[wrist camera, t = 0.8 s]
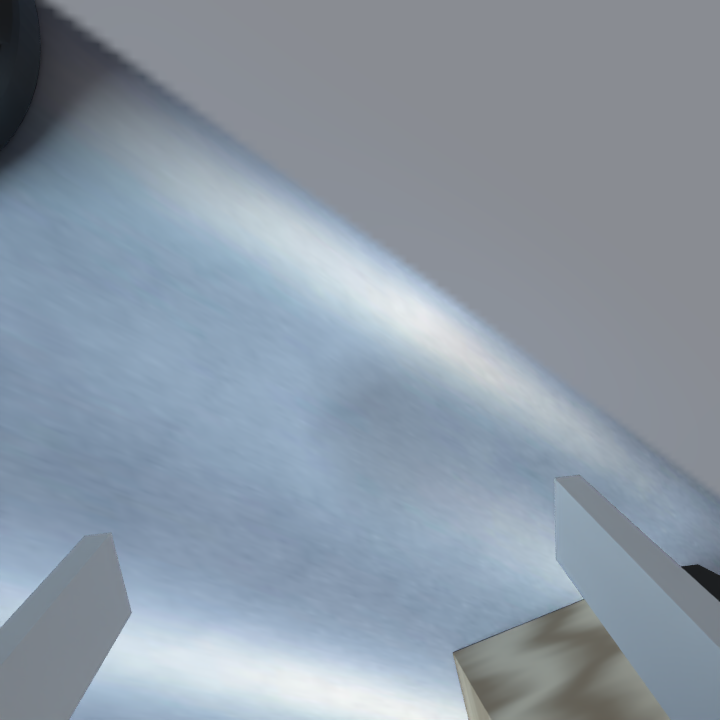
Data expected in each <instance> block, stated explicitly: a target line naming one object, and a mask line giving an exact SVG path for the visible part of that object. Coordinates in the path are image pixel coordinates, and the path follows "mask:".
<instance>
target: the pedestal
mask: <svg viewBox="0 0 720 720" xmlns="http://www.w3.org/2000/svg"><path fill="white" fill-rule="evenodd" d="M453 656H454V660H455V664H456V668H457V673H458V677H459V681H460V685H461V689H462V694H463V698H464V702H465V706H466V710H467V714H468V719H469V720H671V719H670V718H669V717H668V715H667V714H666V713H665V711H664V710H663V708H662V707H661V706H660V704H659V703H658V701H657V700H656V699H655V697H654V696H653V694H652V693H651V692H650V690H649V689H648V687H647V686H646V685H645V683H644V682H643V680H642V679H641V678H640V676H639V675H638V673H637V672H636V671H635V669H634V668H633V666H632V665H631V664H630V662H629V661H628V659H627V658H626V657H625V655H624V654H623V652H622V651H621V650H620V648H619V647H618V645H617V644H616V643H615V641H614V640H613V638H612V637H611V636H610V634H609V633H608V631H607V630H606V629H605V627H604V626H603V624H602V623H601V622H600V620H599V619H598V617H597V616H596V615H595V613H594V612H593V610H592V609H591V608H590V606H589V605H588V603H587V602H586V601H585V599H584V600H582V601H579V602H577V603H574V604H572V605H569V606H567V607H564V608H562V609H559V610H557V611H555V612H552V613H550V614H547V615H545V616H542V617H540V618H537V619H535V620H532V621H530V622H527V623H525V624H523V625H520V626H518V627H515V628H513V629H510V630H508V631H505V632H503V633H500V634H498V635H495V636H493V637H491V638H488V639H486V640H483V641H481V642H478V643H476V644H473V645H471V646H468V647H466V648H463V649H461V650H459V651H456V652H454V653H453Z"/></svg>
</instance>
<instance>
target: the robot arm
mask: <svg viewBox="0 0 720 720" xmlns="http://www.w3.org/2000/svg"><path fill="white" fill-rule="evenodd" d="M39 64H40V30H39V21H38V16H37V11H36V6H35V2H34V0H0V150H1V149H2V148H3V147H4V146H5V145H6V144H7V142H8V141H9V140H10V138H11V137H12V136H13V134H14V133H15V131H16V130H17V128H18V127H19V125H20V124H21V122H22V120H23V118H24V116H25V114H26V112H27V110H28V107H29V105H30V102H31V100H32V97H33V94H34V90H35V87H36V82H37V78H38V72H39ZM554 494H555V542H556V560H557V562H558V563H559V564H560V566H561V567H562V569H563V570H564V571H565V573H566V574H567V576H568V577H569V578H570V580H571V581H572V583H573V584H574V585H575V587H576V588H577V589H578V591H579V592H580V594H581V595H582V596H583V598H584V599H585V601H586V602H587V603H588V605H589V606H590V608H591V609H592V610H593V612H594V613H595V615H596V616H597V617H598V619H599V620H600V622H601V623H602V624H603V626H604V627H605V629H606V630H607V631H608V633H609V634H610V636H611V637H612V638H613V640H614V641H615V643H616V644H617V645H618V647H619V648H620V650H621V651H622V652H623V654H624V655H625V657H626V658H627V659H628V661H629V662H630V664H631V665H632V666H633V668H634V669H635V671H636V672H637V673H638V675H639V676H640V678H641V679H642V680H643V682H644V683H645V685H646V686H647V687H648V689H649V690H650V692H651V693H652V694H653V696H654V697H655V699H656V700H657V701H658V703H659V704H660V706H661V707H662V708H663V710H664V711H665V713H666V714H667V715H668V717H669V718H670V719H671V720H720V576H719V575H717V574H715V573H714V572H712V571H710V570H708V569H706V568H704V567H702V566H700V565H698V564H697V565H689V566H680V565H678V564H677V563H676V562H675V561H674V560H673V559H672V558H671V557H670V556H668V555H667V554H666V553H665V552H664V551H663V550H662V549H661V548H660V547H659V546H657V545H656V544H655V543H654V542H653V541H652V540H651V539H650V538H649V537H648V536H646V535H645V534H644V533H643V532H642V531H641V530H640V529H639V528H638V527H637V526H635V525H634V524H633V523H632V522H631V521H630V520H629V519H628V518H627V517H626V516H624V515H623V514H622V513H621V512H620V511H619V510H618V509H617V508H616V507H614V506H613V505H612V504H611V503H610V502H609V501H608V500H607V499H606V498H605V497H603V496H602V495H601V494H600V493H599V492H598V491H597V490H596V489H595V488H594V487H592V486H591V485H590V484H589V483H588V482H587V481H586V480H585V479H584V478H583V477H581V476H580V475H574V476H566V477H558V478H554ZM131 613H132V612H131V608H130V604H129V600H128V596H127V593H126V589H125V585H124V581H123V577H122V573H121V569H120V565H119V561H118V558H117V554H116V550H115V546H114V542H113V538H112V534H111V533H104V534H96V535H88V536H84V537H83V538H82V539H81V541H80V542H79V543H78V544H77V545H76V546H75V547H74V548H73V549H72V550H71V551H70V553H69V554H68V555H67V556H66V557H65V558H64V559H63V560H62V561H61V562H60V563H59V565H58V566H57V567H56V568H55V569H54V570H53V571H52V572H51V573H50V574H49V576H48V577H47V578H46V579H45V580H44V581H43V582H42V583H41V584H40V585H39V586H38V588H37V589H36V590H35V591H34V592H33V593H32V594H31V595H30V596H29V597H28V598H27V600H26V601H25V602H24V603H23V604H22V605H21V606H20V607H19V608H18V609H17V610H16V612H15V613H14V614H13V615H12V616H11V617H10V618H9V619H8V620H7V621H6V622H5V624H4V625H3V626H2V627H1V628H0V720H69V719H70V718H71V716H72V714H73V712H74V711H75V709H76V707H77V706H78V704H79V702H80V700H81V699H82V697H83V695H84V694H85V692H86V690H87V688H88V687H89V685H90V683H91V682H92V680H93V678H94V676H95V675H96V673H97V671H98V670H99V668H100V666H101V665H102V663H103V661H104V659H105V658H106V656H107V654H108V653H109V651H110V649H111V647H112V646H113V644H114V642H115V641H116V639H117V637H118V635H119V634H120V632H121V630H122V629H123V627H124V625H125V623H126V622H127V620H128V618H129V617H130V615H131Z"/></svg>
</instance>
